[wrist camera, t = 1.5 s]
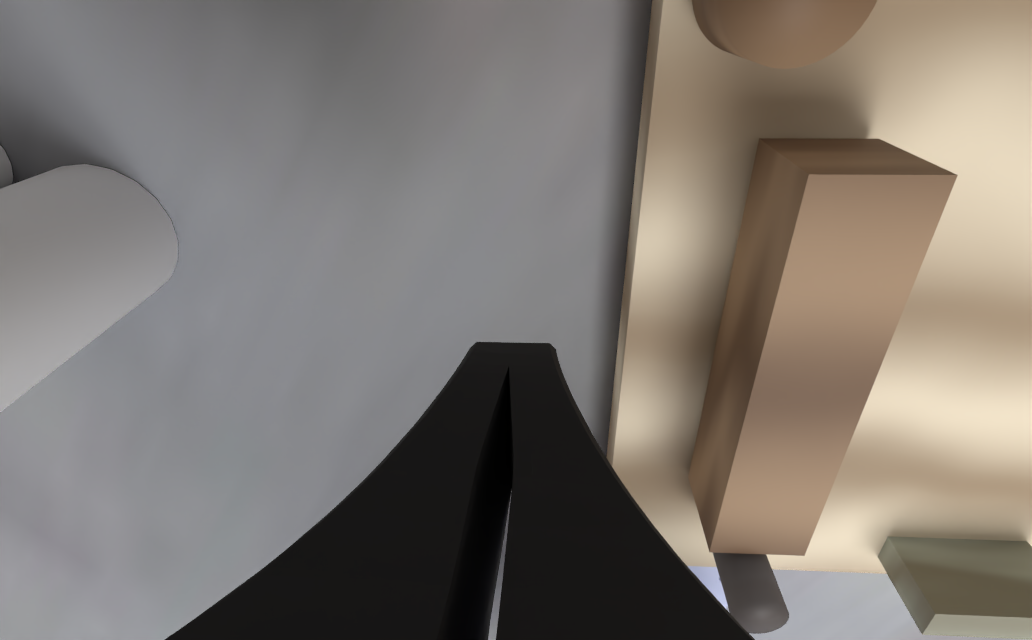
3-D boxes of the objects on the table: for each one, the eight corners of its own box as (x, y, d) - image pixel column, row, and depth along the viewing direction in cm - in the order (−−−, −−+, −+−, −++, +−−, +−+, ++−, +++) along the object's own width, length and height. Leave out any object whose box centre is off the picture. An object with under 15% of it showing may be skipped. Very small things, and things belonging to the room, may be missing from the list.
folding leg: (770, 479, 19) (804, 555, 17) (688, 477, 19) (709, 552, 17) (878, 138, 13) (957, 175, 11) (759, 138, 13) (809, 174, 11)
